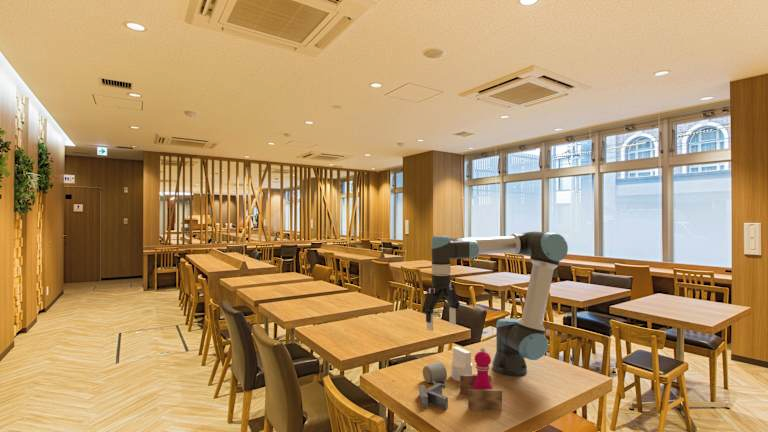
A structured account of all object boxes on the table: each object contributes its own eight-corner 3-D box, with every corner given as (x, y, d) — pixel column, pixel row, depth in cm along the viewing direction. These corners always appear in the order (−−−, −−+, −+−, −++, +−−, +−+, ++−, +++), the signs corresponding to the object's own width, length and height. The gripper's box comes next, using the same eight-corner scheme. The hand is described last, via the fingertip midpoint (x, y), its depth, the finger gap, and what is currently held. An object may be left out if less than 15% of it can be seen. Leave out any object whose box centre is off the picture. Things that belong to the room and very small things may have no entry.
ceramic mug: (421, 379, 170) (421, 362, 170) (437, 376, 174) (437, 359, 173) (435, 390, 160) (435, 371, 160) (451, 386, 164) (451, 368, 164)
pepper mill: (493, 405, 147) (493, 352, 147) (473, 404, 148) (473, 350, 148) (491, 397, 154) (491, 345, 154) (472, 395, 155) (472, 344, 155)
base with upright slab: (447, 375, 175) (447, 348, 175) (462, 371, 179) (462, 345, 179) (460, 383, 167) (460, 354, 167) (476, 378, 171) (476, 351, 171)
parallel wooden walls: (489, 391, 159) (489, 374, 159) (502, 409, 144) (502, 390, 144) (460, 391, 158) (460, 374, 158) (469, 410, 143) (469, 391, 143)
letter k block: (441, 392, 158) (441, 382, 158) (448, 409, 144) (448, 398, 144) (418, 393, 157) (418, 382, 157) (423, 410, 143) (423, 399, 143)
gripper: (453, 270, 170) (454, 319, 170) (412, 276, 154) (413, 331, 154) (467, 272, 164) (468, 322, 165) (426, 278, 148) (427, 335, 148)
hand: (441, 327), depth 159 cm, fingers open, 13 cm apart
